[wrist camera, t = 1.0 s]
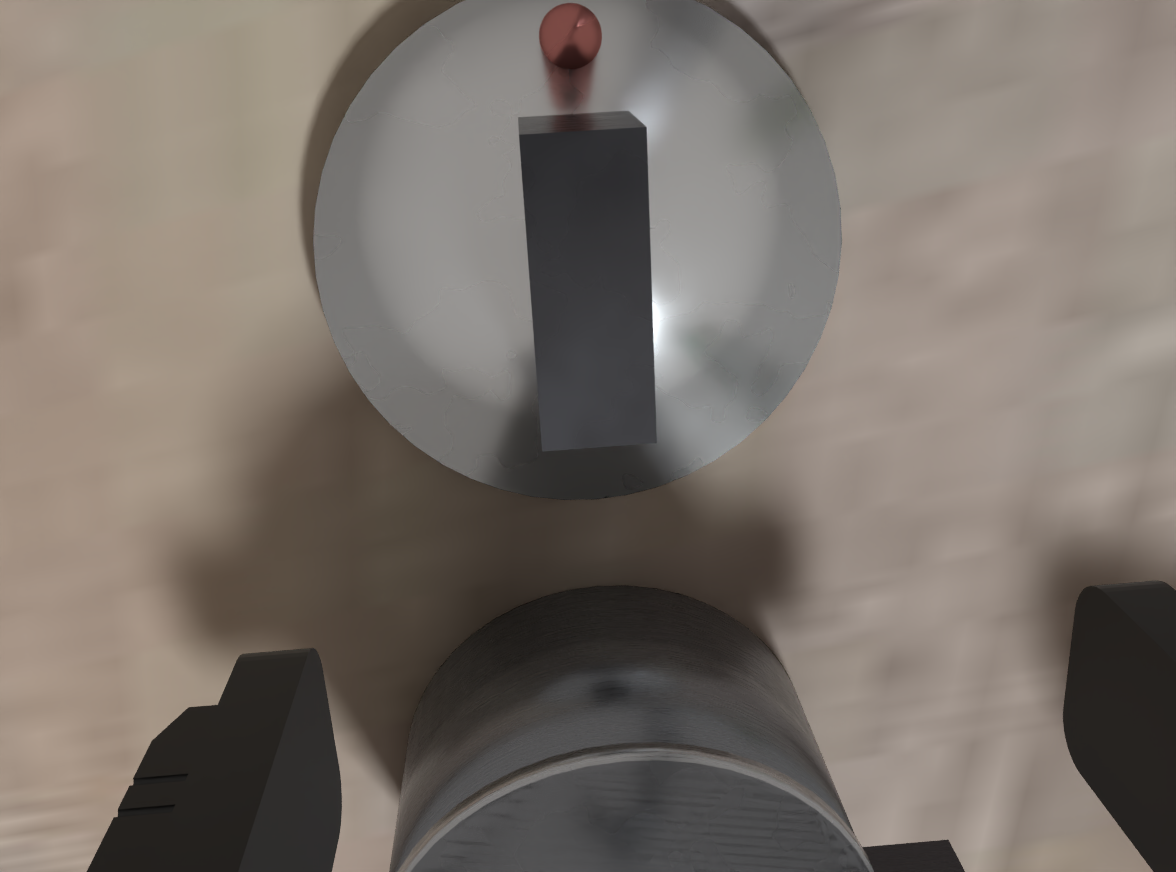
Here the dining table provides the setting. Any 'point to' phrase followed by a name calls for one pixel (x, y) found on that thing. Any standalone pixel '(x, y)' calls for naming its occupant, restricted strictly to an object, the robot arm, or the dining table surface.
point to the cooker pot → (624, 751)
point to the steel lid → (577, 241)
